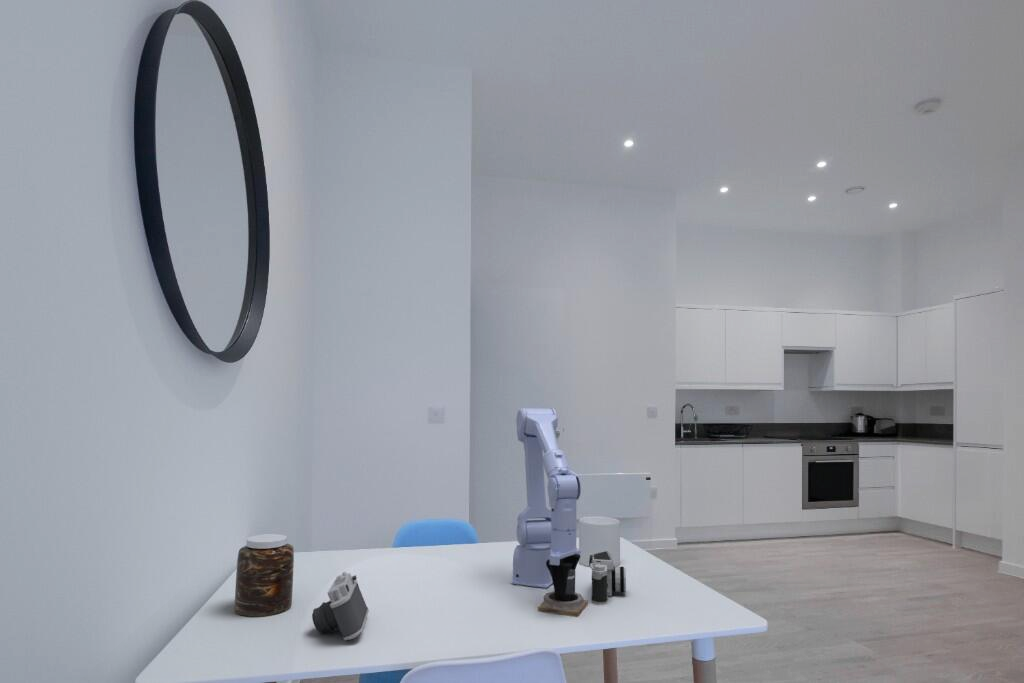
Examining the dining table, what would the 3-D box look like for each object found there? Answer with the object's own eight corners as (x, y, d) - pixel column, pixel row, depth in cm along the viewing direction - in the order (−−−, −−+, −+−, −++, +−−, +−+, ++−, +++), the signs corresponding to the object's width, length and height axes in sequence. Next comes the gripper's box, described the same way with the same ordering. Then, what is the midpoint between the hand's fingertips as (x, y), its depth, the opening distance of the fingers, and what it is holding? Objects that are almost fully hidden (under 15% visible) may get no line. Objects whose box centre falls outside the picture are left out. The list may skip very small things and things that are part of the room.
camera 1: (373, 609, 130) (354, 563, 131) (366, 634, 114) (345, 582, 115) (331, 629, 128) (313, 583, 129) (318, 657, 113) (297, 604, 113)
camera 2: (626, 607, 137) (626, 561, 138) (588, 604, 139) (588, 559, 140) (624, 586, 153) (624, 545, 154) (590, 584, 154) (590, 543, 155)
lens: (551, 603, 135) (552, 570, 136) (557, 597, 139) (557, 565, 140) (572, 606, 133) (572, 572, 134) (577, 600, 138) (577, 567, 138)
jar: (296, 598, 140) (299, 531, 142) (286, 616, 129) (290, 543, 130) (241, 600, 138) (245, 532, 140) (227, 618, 127) (231, 544, 128)
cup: (579, 556, 182) (579, 515, 183) (619, 558, 180) (619, 517, 181) (578, 567, 170) (578, 523, 171) (620, 569, 169) (620, 524, 170)
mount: (537, 611, 134) (537, 599, 134) (550, 599, 142) (550, 587, 142) (577, 616, 131) (577, 604, 131) (587, 604, 139) (587, 592, 139)
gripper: (572, 536, 130) (572, 602, 129) (588, 524, 143) (588, 584, 142) (540, 533, 132) (540, 598, 131) (560, 521, 146) (559, 580, 145)
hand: (563, 590), depth 137 cm, fingers open, 5 cm apart
